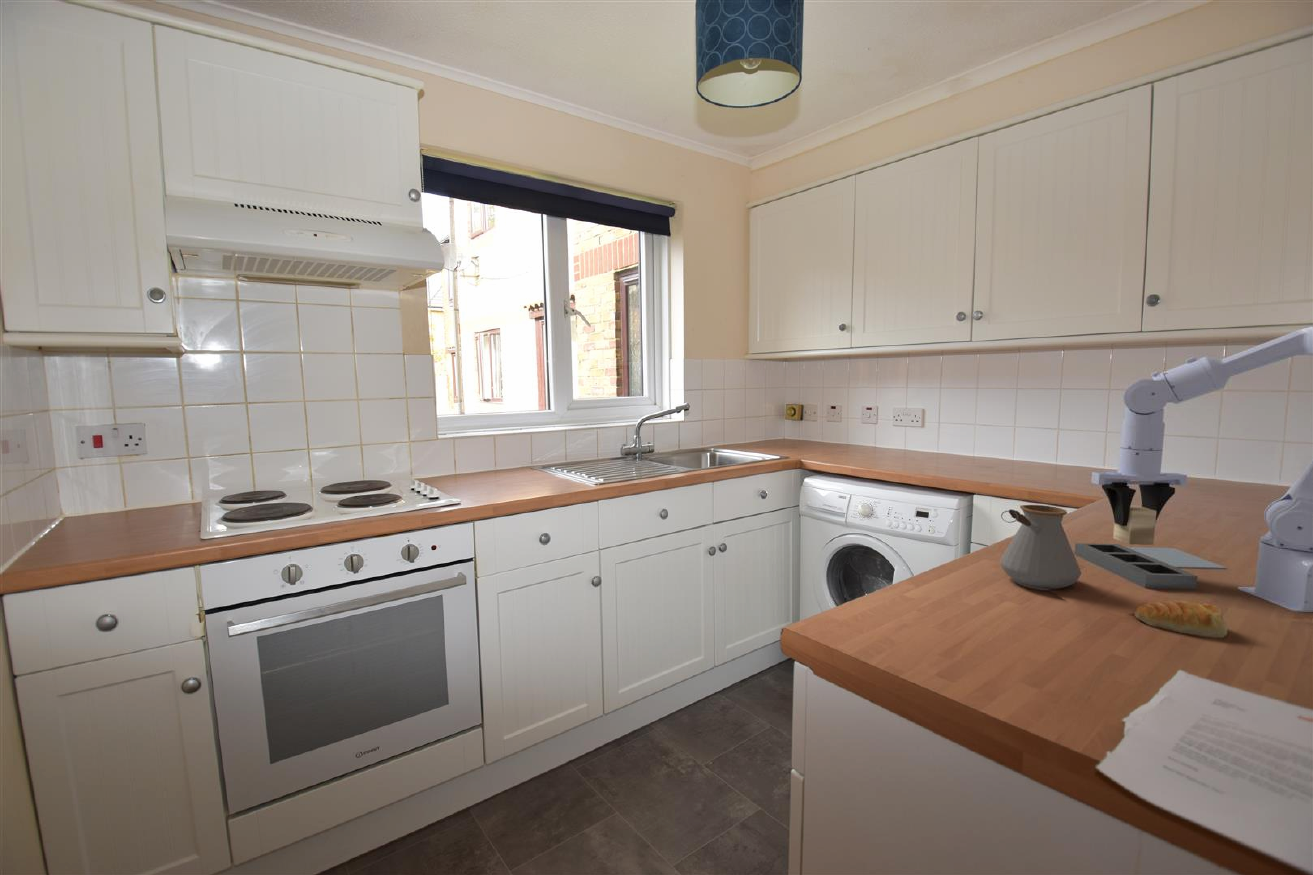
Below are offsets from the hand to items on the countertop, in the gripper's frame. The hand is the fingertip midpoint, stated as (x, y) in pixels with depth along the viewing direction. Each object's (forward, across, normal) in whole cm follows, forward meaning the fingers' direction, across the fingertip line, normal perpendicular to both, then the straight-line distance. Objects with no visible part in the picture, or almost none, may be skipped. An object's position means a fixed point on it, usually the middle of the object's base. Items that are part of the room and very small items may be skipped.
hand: (1134, 524), depth 104 cm
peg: (+3, 0, 0) cm, 3 cm away
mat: (+9, -12, -8) cm, 17 cm away
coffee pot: (+9, +23, +10) cm, 27 cm away
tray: (+9, 0, 0) cm, 9 cm away
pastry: (+9, +9, +23) cm, 27 cm away
